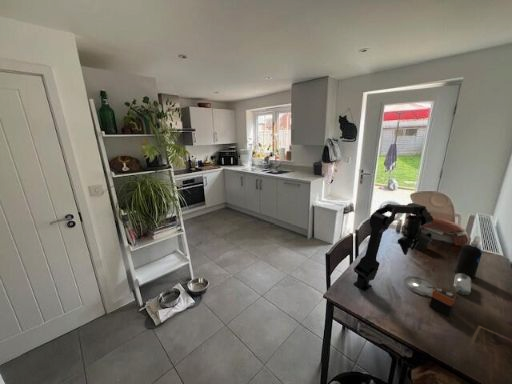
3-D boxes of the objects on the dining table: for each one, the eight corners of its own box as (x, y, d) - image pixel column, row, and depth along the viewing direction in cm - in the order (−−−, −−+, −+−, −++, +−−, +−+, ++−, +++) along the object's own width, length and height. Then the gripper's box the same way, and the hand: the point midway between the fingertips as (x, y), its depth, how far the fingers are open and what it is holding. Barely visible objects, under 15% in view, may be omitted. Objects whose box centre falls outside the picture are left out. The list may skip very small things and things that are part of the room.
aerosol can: (457, 276, 112) (466, 244, 107) (452, 268, 119) (460, 237, 114) (478, 281, 109) (488, 248, 103) (471, 272, 116) (480, 240, 110)
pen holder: (425, 253, 136) (428, 239, 133) (408, 247, 142) (411, 234, 140) (428, 247, 142) (431, 234, 139) (411, 243, 148) (414, 230, 146)
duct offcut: (469, 297, 99) (472, 286, 97) (452, 290, 103) (454, 280, 101) (469, 286, 105) (472, 276, 104) (453, 281, 109) (456, 271, 108)
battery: (448, 317, 88) (453, 298, 85) (428, 307, 94) (433, 288, 91) (451, 312, 90) (456, 293, 88) (432, 302, 96) (436, 284, 93)
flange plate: (432, 301, 96) (433, 299, 96) (399, 284, 108) (399, 282, 107) (442, 289, 104) (443, 287, 103) (410, 274, 115) (411, 272, 115)
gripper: (425, 237, 99) (419, 265, 103) (438, 227, 108) (432, 253, 113) (399, 228, 108) (394, 255, 112) (414, 220, 117) (409, 244, 122)
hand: (408, 252), depth 114 cm, fingers open, 9 cm apart
